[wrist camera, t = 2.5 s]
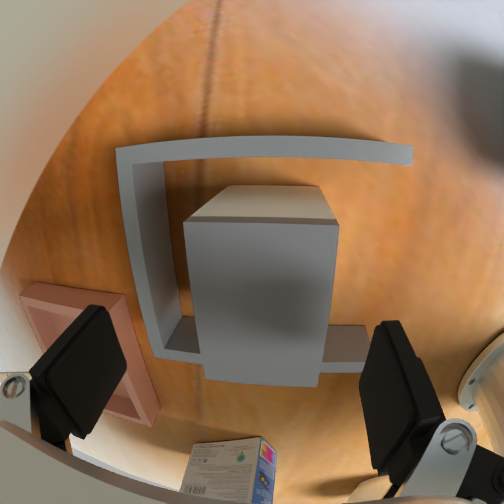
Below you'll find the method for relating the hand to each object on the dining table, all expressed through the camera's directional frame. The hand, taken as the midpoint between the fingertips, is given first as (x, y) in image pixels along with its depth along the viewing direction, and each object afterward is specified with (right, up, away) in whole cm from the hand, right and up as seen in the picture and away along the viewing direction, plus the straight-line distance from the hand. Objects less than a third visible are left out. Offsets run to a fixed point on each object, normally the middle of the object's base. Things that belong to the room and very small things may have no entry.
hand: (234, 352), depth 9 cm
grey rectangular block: (+2, +4, +9) cm, 10 cm away
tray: (-16, -7, +16) cm, 24 cm away
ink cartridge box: (-1, -21, +20) cm, 29 cm away
